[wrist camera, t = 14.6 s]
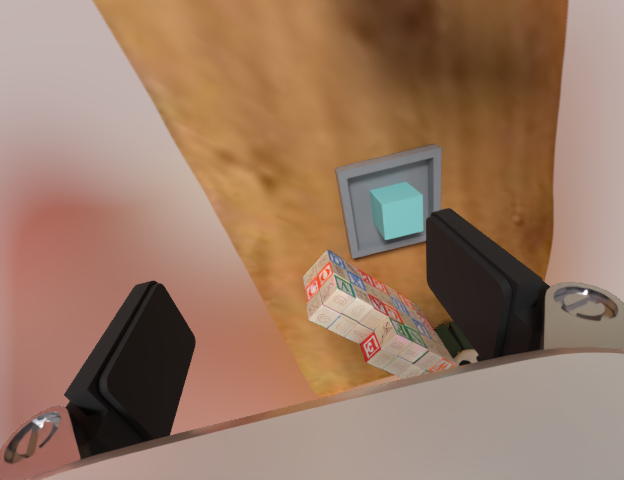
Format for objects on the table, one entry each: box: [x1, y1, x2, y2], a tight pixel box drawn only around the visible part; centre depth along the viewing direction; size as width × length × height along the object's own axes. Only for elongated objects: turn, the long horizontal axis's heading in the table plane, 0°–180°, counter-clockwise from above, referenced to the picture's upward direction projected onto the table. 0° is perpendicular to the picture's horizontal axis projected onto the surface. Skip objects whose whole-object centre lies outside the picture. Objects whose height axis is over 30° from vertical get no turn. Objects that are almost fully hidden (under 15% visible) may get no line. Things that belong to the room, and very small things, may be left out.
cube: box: [370, 182, 423, 240], centre depth 38 cm, size 5×5×5 cm
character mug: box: [435, 322, 483, 368], centre depth 50 cm, size 11×7×13 cm, turn 109°
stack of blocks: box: [303, 250, 456, 379], centre depth 43 cm, size 21×6×12 cm, turn 52°
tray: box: [335, 144, 442, 259], centre depth 40 cm, size 13×13×2 cm
